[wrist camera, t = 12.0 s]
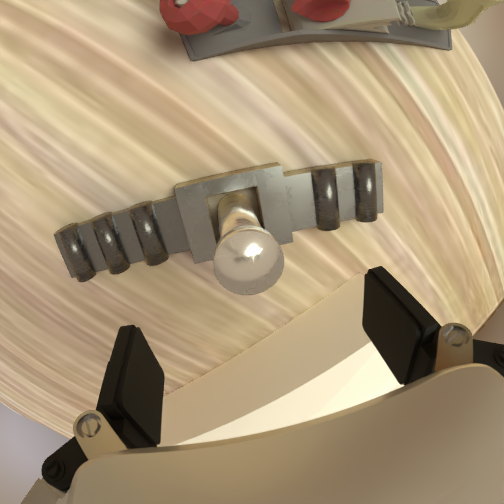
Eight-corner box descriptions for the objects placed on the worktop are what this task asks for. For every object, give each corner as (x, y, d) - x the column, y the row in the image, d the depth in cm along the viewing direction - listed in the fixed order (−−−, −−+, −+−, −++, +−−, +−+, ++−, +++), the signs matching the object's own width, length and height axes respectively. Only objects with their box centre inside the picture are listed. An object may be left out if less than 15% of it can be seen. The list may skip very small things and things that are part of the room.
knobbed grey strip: (78, 281, 27) (68, 296, 24) (54, 221, 24) (40, 232, 21) (373, 215, 28) (389, 225, 26) (370, 149, 25) (387, 153, 23)
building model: (357, 270, 32) (400, 319, 23) (405, 357, 41) (432, 398, 32) (111, 420, 39) (103, 466, 30) (200, 463, 48) (203, 501, 39)
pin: (207, 193, 25) (205, 240, 16) (252, 183, 26) (279, 224, 16) (217, 234, 27) (222, 301, 17) (259, 224, 27) (287, 286, 17)
